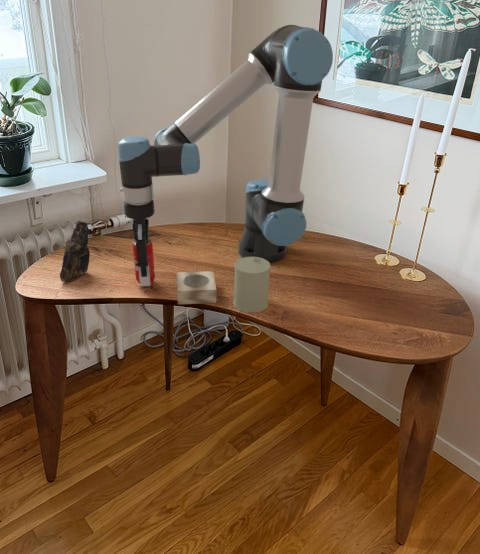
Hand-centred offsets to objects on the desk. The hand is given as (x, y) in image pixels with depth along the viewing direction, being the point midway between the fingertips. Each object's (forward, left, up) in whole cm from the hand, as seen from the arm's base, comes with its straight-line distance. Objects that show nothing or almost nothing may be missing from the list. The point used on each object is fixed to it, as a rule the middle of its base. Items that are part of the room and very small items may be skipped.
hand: (145, 279), depth 143 cm
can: (-28, +12, -2) cm, 30 cm away
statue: (+19, -7, -2) cm, 21 cm away
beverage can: (0, 0, 0) cm, 0 cm away
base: (-14, +6, -1) cm, 15 cm away
